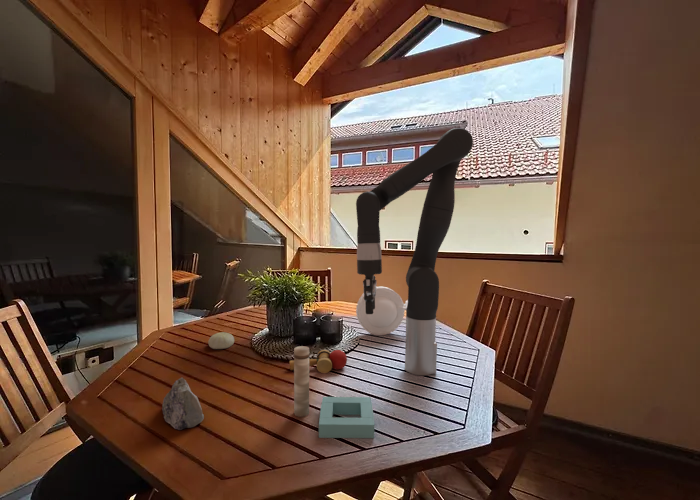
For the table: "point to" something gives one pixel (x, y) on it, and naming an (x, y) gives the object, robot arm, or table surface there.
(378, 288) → the tracked sphere vehicle
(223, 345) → the sea urchin shell
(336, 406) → the teal square frame
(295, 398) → the beige banded cylinder
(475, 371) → the table surface
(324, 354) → the kendama
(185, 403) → the mineral rock
